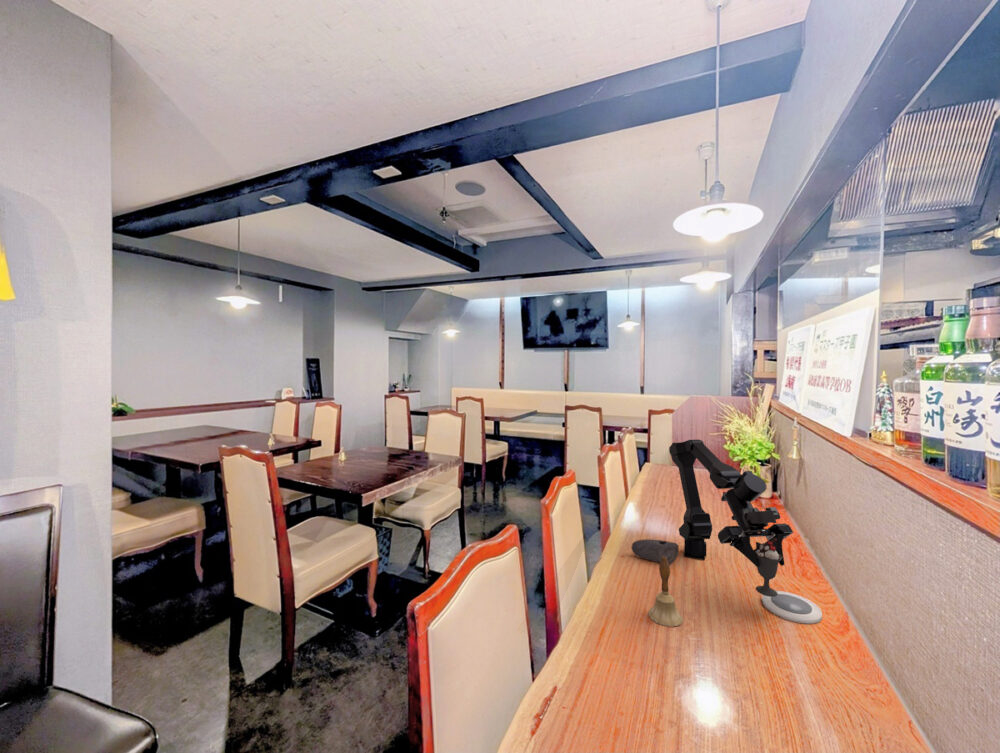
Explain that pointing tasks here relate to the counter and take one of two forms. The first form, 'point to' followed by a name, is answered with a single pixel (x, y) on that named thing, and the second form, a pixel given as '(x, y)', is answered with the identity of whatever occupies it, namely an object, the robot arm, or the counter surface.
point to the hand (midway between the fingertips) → (770, 566)
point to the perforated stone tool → (655, 550)
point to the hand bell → (665, 601)
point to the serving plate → (793, 607)
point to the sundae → (767, 566)
